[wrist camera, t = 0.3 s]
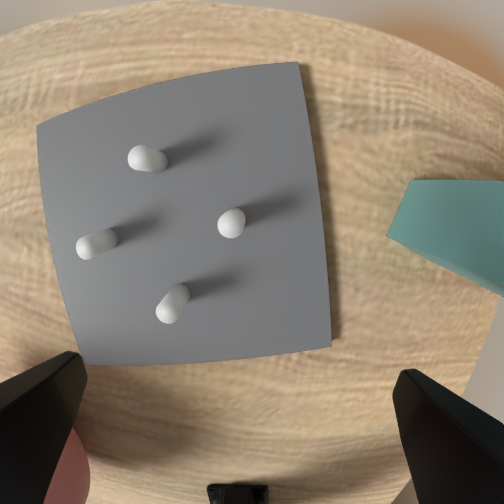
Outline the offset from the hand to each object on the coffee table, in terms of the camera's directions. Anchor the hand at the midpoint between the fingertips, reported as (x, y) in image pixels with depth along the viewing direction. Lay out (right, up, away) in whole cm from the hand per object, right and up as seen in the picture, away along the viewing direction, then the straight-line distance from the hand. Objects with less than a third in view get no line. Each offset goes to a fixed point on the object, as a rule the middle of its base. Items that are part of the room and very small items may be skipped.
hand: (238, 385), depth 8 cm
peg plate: (-5, +5, +13) cm, 15 cm away
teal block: (+13, +6, +13) cm, 19 cm away
